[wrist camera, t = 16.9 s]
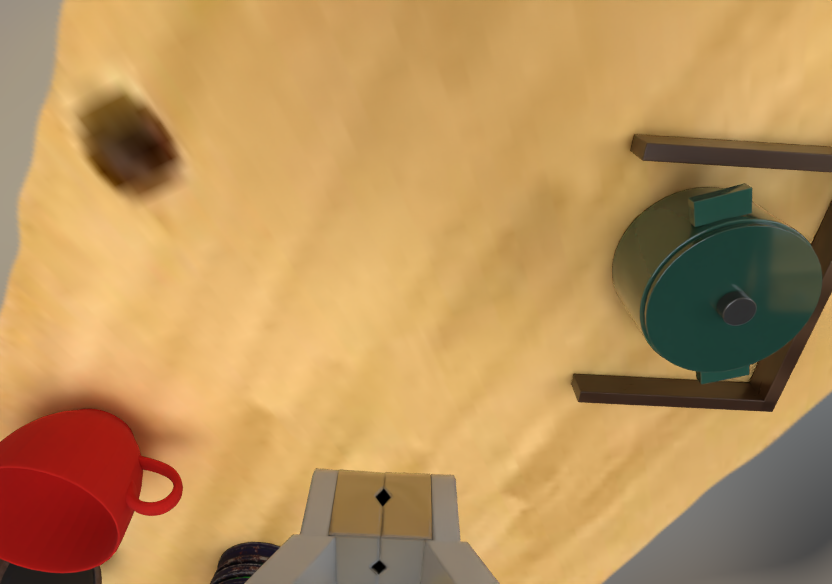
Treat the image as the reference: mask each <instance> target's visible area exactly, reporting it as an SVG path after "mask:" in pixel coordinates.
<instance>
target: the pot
mask: <svg viewBox="0 0 832 584" xmlns="http://www.w3.org/2000/svg"><path fill="white" fill-rule="evenodd" d="M612 279H613V284H614V288H615V290H616V293H617V295H618V297H619V298H620V300H621V302H622V303H623V305H624V306H625V308H626V310H627V311H628V313H629V314H630V316H631V317H632V319H633V320H634V322H635V324H636V325H637V327H638V328H639V330H640V331H641V333H642V334H643V336H644V338H645V339H646V341H647V342H648V344H649V345H650V346H651V347H652V349H653V350H654V351H655V352H656V353H658V354H659V355H660V356H661V357H663V358H665V359H666V360H668V361H670V362H671V363H673V364H675V365H677V366H679V367H682V368H685V369H688V370H692V371H696V378H697V379H698V381H699V382H700V384H707V383H712V382H717V381H722V380H726V379H731V378H736V377H741V376H745V375H749V365H751V364H754V363H756V362H758V361H760V360H762V359H765V358H766V357H768V356H770V355H772V354H773V353H775V352H776V351H778V350H779V349H781V348H782V347H784V346H785V345H786V344H787V343H788V342H790V341H791V340H792V339H793V338H794V337H795V336H796V335H797V334H798V333H799V332H800V331H801V330H802V328H803V327H804V326H805V325H806V323H807V322H808V320H809V319H810V317H811V316H812V314H813V312H814V310H815V308H816V306H817V304H818V301H819V298H820V295H821V289H822V270H821V265H820V262H819V259H818V257H817V255H816V253H815V251H814V249H813V248H812V246H811V244H810V243H809V242H808V240H807V239H806V238H805V237H804V236H803V235H802V234H800V233H799V232H798V231H796V230H795V229H794V228H792V227H791V226H789V225H787V224H786V223H784V222H783V221H781V220H780V219H778V218H777V217H775V216H774V215H772V214H771V213H769V212H768V211H766V210H765V209H763V208H761V207H760V206H758V205H757V204H755V203H754V202H752V187H750V186H749V185H747V184H741V185H737V186H733V187H729V188H725V189H723V188H715V187H702V188H694V189H689V190H684V191H681V192H678V193H675V194H672V195H670V196H668V197H666V198H663V199H662V200H660V201H658V202H656V203H655V204H653V205H652V206H650V207H649V208H648V209H646V210H645V211H644V212H643V213H642V214H641V215H639V216H638V217H637V218H636V219H635V220H634V222H633V223H632V224H631V225H630V226H629V227H628V229H627V230H626V232H625V233H624V234H623V236H622V238H621V240H620V242H619V244H618V246H617V249H616V251H615V255H614V259H613V266H612Z"/></svg>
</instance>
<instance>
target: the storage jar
mask: <svg viewBox="0 0 832 584" xmlns="http://www.w3.org/2000/svg"><path fill="white" fill-rule="evenodd" d="M279 548H280V547H279V546H276V545H273V544H268V543H260V542H250V543H243V544H239V545H236V546H233V547H231V548H230V549H228V550H227V551H225V552H224V553H223V555H222V556H221V558H220V560H219V563H218V567H217V570H216V572H215V574H214V577H213V578H212V581H211V583H210V584H244V583H245V582H246V581H247V580H248V579H249V578H250V577H251V576H252V575H253V574H254V573H255V572H256V571H257V570H258V569H259V568H260V567H261V566H262V565H263V564H264V563H265V562H266V561H267V560H268V559H269V558H270V557H271V556H272V555H273V554H274V553H275V552H276V551H277V550H278V549H279Z"/></svg>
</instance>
